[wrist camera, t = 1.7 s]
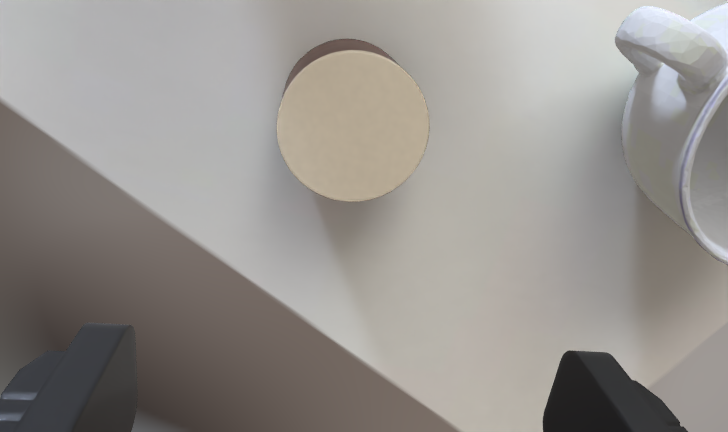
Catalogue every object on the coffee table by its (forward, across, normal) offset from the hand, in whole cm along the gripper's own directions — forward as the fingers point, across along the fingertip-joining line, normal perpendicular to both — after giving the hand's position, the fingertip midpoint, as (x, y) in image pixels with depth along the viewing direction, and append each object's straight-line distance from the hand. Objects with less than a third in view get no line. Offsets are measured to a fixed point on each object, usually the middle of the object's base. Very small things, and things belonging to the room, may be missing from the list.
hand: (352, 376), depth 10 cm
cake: (+18, -1, -2) cm, 18 cm away
